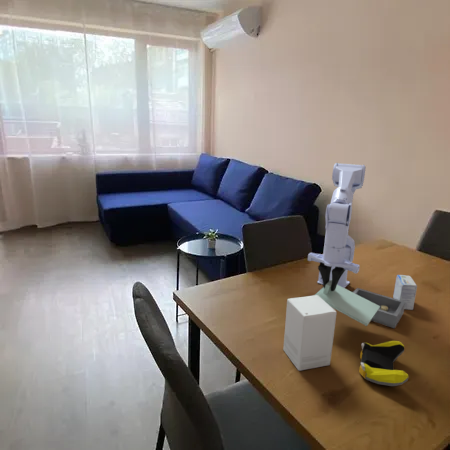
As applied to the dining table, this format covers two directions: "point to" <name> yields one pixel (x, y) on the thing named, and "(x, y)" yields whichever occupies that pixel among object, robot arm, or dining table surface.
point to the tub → (384, 307)
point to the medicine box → (405, 290)
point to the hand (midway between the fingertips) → (329, 288)
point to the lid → (349, 303)
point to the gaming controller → (382, 363)
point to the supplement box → (309, 332)
